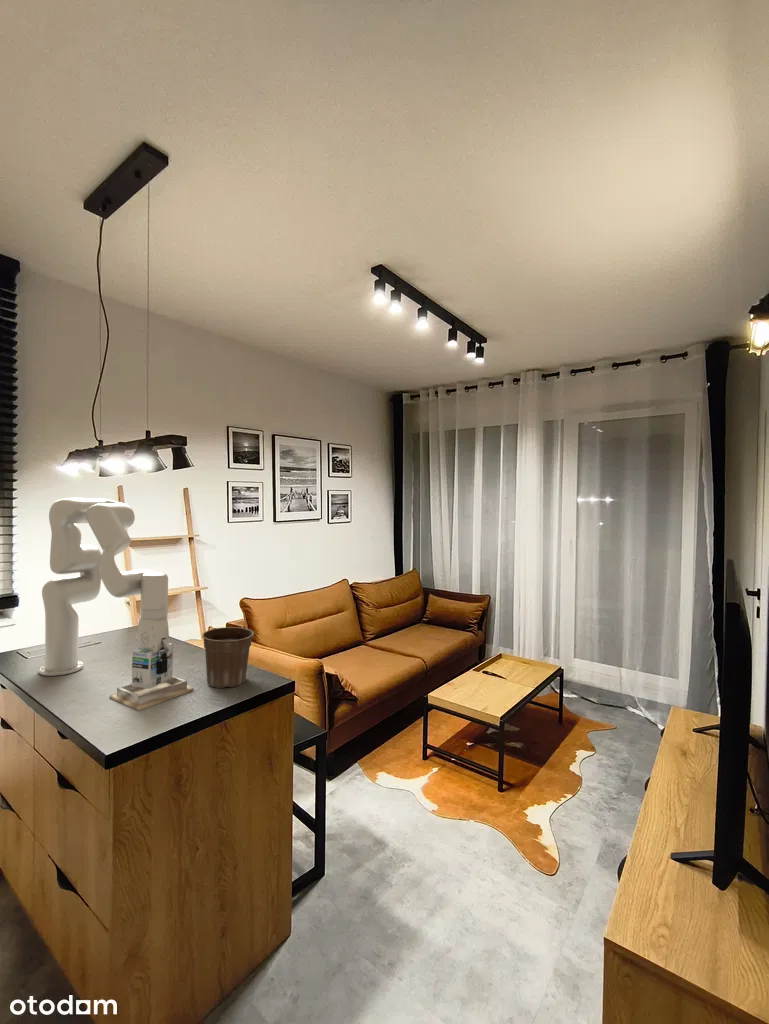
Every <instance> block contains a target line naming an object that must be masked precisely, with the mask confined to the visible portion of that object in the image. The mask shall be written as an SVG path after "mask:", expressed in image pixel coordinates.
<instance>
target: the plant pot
mask: <svg viewBox="0 0 769 1024" xmlns="http://www.w3.org/2000/svg"><path fill="white" fill-rule="evenodd" d="M201 636H202V639H203V648H204V650H205V667H206V668H205V669H206V683H207V685H208V686H210V687H212V688H218V689H224V688H226V687H228V688H235V687H239V686H241V685H242V684H244V683H245V682H246V678H247V671H248V665H249V663H248V662H249V655H250V654H249V653H250V647H251V646H252V639H253V636H254V631H253V630H251V629H250V628H246V627H237V626H236V627H235V626H234V627H231V626H229V627H217V628H213V629H209V630H206V631H204V632H203V633H202V634H201Z"/></svg>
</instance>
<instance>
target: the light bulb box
mask: <svg viewBox="0 0 769 1024" xmlns="http://www.w3.org/2000/svg"><path fill="white" fill-rule="evenodd" d="M169 644H170V646H171V647H172V651H171V653H170V656H169V659H168V663H167V672H165V673H162V674H159V675H158V674H157V661H158V658H157V652H156V654H154V653H153V652H151V651H148V650H145V649H143V648H139V649H138V648H137V649H135V650H132V654H131V655H132V660H131V661H132V664H131V667H132V668H131V671H132V672H131V683H132V686H133V687H140V688H147V689H151V688H153V687H155V686H157V685H158V684H160V683H162V682H164V681H166V680H168V679H170V678H172V676H173V674H174V673H173V671H174V670H173V668H174V667H173V666H174V665H173V664H174V643H170V642H169ZM160 650H162V649H160ZM160 654H161V656H162V655H163V653H160Z"/></svg>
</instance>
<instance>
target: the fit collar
mask: <svg viewBox="0 0 769 1024" xmlns="http://www.w3.org/2000/svg"><path fill="white" fill-rule="evenodd" d="M194 689H195V688H194V687H192V686H190V685H188V680H185V679H183V678H179V677H177V676H174V675H172V678H170V679H168V680H166V681H164V682H162V683H160V684H158V685H157V686H155V687H153V688H151V689H147V688H140V687H133V686H132V682H131V683H128V684H125V685H122V686H118V687H116V692H115V693H113V694H109V698H110V699H112V700H114V701H116V702H119V703H121V704H123V705H124V706H128V707H130V708H133V710H136V711H142V710H144V709H146V708H149V707H152V706H156V705H158V704H161V703H163V702H166V701H168V700H171V699H172V700H173V698H177V697H180V696H182V695H185V694H188V693H191V692H193V691H194Z"/></svg>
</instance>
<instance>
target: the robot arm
mask: <svg viewBox="0 0 769 1024" xmlns="http://www.w3.org/2000/svg"><path fill="white" fill-rule="evenodd" d="M48 519H49V520H48V521H49V526H50V530H51V531H50V532H51V537H50V538H51V539H50V550H49V551H50V552H49V553H50V554H49V568H50V571H51V572H52V573H54V574H56V575H68V574H78V573H79V575H73V576H65V577H64V576H63V577H57V578H54V579H50V580H49V581H47V582H45V584H44V585H43V587H42V589H41V597H42V602H43V606H44V615H45V616H44V617H45V618H44V620H45V623H44V624H45V625H44V631H45V632H44V665H43V666H40V668H39V670H38V673H39V674H40V675H41V676H50V677H53V676H54V677H56V676H57V677H58V676H64V675H68V674H72V673H75V672H79V671H80V670H82V669H83V667H84V663H83V662H82V661H81V660H79V630H80V629H79V628H80V627H79V625H80V624H79V619H80V618H79V614H78V613H77V611H76V610H75V609H74V608H73V605H75V604H80V603H85V602H90V601H92V600H93V601H94V600H95V599H96V598H97V597H98V596H99V594H100V591H101V583H103V585H104V588H105V589H106V590H107V592H108V593H109V594H110V595H111V596H113V597H115V598H126V597H131V596H136V595H138V596H139V595H140V612H139V613H140V615H139V616H140V617H139V620H138V625H137V633H136V638H135V642H136V648H137V649H139V648H143V649H145V650H148V651H151V652H153V653H154V654H156V652H157V658H158V661H157V674H158V675H159V674H162V673H165V672H167V663H168V659H169V656H170V653H171V651H172V647H171V646H170V644H171V643H170V632H169V623H168V616H169V615H168V611H169V610H168V609H169V607H168V605H169V603H168V602H169V575H168V574H167V573H165V572H159V571H158V572H155V571H153V570H150V569H145V568H144V569H136V570H127V571H123V572H122V571H120V569H119V568H118V566H117V564H116V561H115V556H117V555H119V554H121V553H122V552H124V551H125V550H127V549H128V548H129V547H130V545H131V542H132V539H131V537H130V535H129V534H128V532H127V530H126V529H128V528H131V526H133V524H134V522H135V520H136V516H135V513H134V510H133V508H132V507H131V506H130V505H128V504H126V503H123V502H118V501H115V500H112V499H107V498H95V497H94V498H90V497H89V498H85V497H70V498H69V497H66V498H61V499H57V500H55V501H54V502H53V503H52V505H51V507H50V508H49V513H48ZM77 524H88V525H89V527H90V529H91V531H92V533H93V534H94V536H95V538H96V540H97V542H98V544H99V546H100V548H101V550H102V552H101V551H100V549H99V548H98V547H97V546H96V545H93V544H82V532H81V530H80V528H79V527H78V525H77ZM169 643H170V644H169ZM160 649H162V650H160ZM160 653H163V655H162V656H161V654H160Z"/></svg>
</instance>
